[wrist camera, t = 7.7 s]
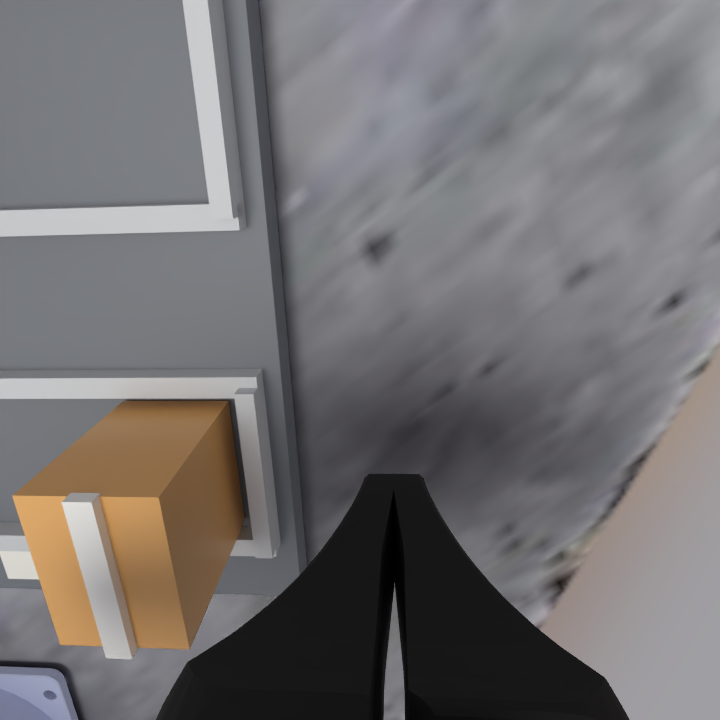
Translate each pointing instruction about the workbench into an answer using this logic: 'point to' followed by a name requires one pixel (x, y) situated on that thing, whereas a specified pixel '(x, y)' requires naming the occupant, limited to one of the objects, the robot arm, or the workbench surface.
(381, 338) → the workbench surface
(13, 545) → the plate
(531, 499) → the workbench surface
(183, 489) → the fader orange
